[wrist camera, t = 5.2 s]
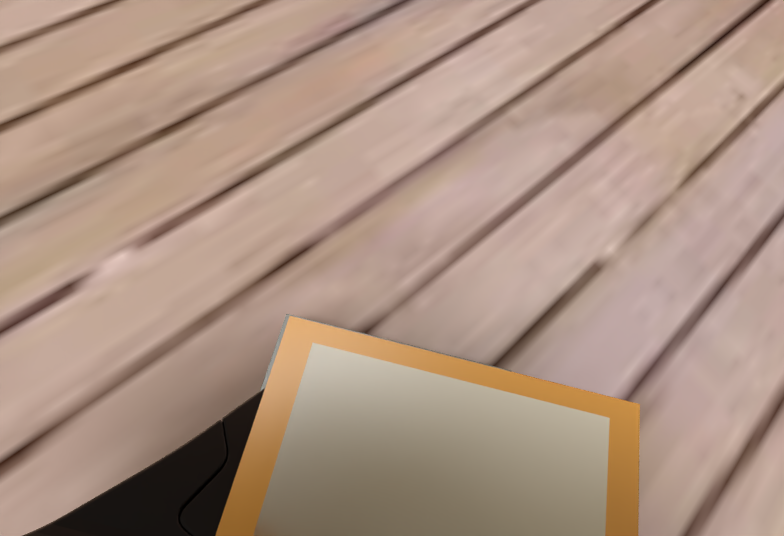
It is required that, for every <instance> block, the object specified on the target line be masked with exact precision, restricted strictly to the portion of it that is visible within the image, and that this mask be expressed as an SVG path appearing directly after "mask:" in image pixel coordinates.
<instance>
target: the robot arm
mask: <svg viewBox="0 0 784 536" xmlns="http://www.w3.org/2000/svg"><path fill="white" fill-rule="evenodd" d="M264 390H265V388H264V389H263V390H261V391H260V392H259V393H257V394H256V395H254V396H253V397H252V398H250V399H249V400H247V401H246V402H245V403H243V404H242V405H240V406H239V407H238V408H236V409H235V410H233V411H232V412H231V413H229V414H228V415H226V416H225V417H224V418H223V419H222V421H221V420H219V421H218V422H216V423H215V424H213V425H212V426H211V427H209V428H208V429H206V430H205V431H204V432H202V433H201V434H199V435H198V436H196V437H195V438H193V439H192V440H190V441H189V442H187V443H186V444H184V445H183V446H181V447H180V448H178V449H177V450H175V451H173V452H172V453H170V454H169V455H167V456H165V457H164V458H162V459H160V460H159V461H157V462H155V463H154V464H152V465H150V466H149V467H147V468H145V469H144V470H142V471H140V472H138V473H137V474H135V475H133V476H132V477H130V478H128V479H126V480H125V481H123V482H121V483H120V484H118V485H116V486H114V487H113V488H111V489H109V490H107V491H106V492H104V493H102V494H101V495H99V496H97V497H95V498H94V499H92V500H90V501H88V502H87V503H85V504H83V505H82V506H80V507H78V508H76V509H75V510H73V511H71V512H69V513H68V514H66V515H64V516H62V517H61V518H59V519H57V520H55V521H53V522H51V523H49V524H47V525H45V526H43V527H41V528H39V529H37V530H35V531H33V532H30V533H28V534H25V535H23V536H215V535H216V532H217V529H218V526H219V523H220V520H221V517H222V514H223V512H224V509H225V506H226V503H227V500H228V497H229V494H230V491H231V488H232V485H233V482H234V479H235V476H236V473H237V470H238V467H239V464H240V461H241V458H242V455H243V452H244V449H245V446H246V443H247V440H248V437H249V435H250V432H251V429H252V426H253V423H254V420H255V417H256V414H257V411H258V408H259V405H260V402H261V399H262V396H263V393H264Z"/></svg>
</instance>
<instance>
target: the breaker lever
mask: <svg viewBox="0 0 784 536" xmlns="http://www.w3.org/2000/svg"><path fill="white" fill-rule="evenodd" d="M639 421H640V404H637V403H633V402H629V401H625V400H621V399H617V398H613V397H609V396H605V395H601V394H597V393H593V392H589V391H585V390H581V389H578V388H574V387H570V386H566V385H562V384H558V383H554V382H550V381H546V380H542V379H538V378H534V377H530V376H526V375H522V374H518V373H514V372H510V371H506V370H503V369H499V368H495V367H491V366H487V365H483V364H479V363H475V362H471V361H467V360H463V359H459V358H455V357H451V356H447V355H443V354H439V353H435V352H431V351H427V350H424V349H420V348H416V347H412V346H408V345H404V344H400V343H396V342H392V341H388V340H384V339H380V338H376V337H372V336H368V335H364V334H360V333H356V332H352V331H348V330H345V329H341V328H337V327H333V326H329V325H325V324H321V323H317V322H313V321H309V320H305V319H301V318H297V317H293V316H289V319H288V322H287V325H286V328H285V331H284V334H283V337H282V340H281V343H280V346H279V349H278V352H277V355H276V358H275V360H274V363H273V366H272V369H271V372H270V375H269V378H268V381H267V384H266V387H265V390H264V393H263V396H262V399H261V402H260V405H259V408H258V411H257V414H256V417H255V420H254V423H253V426H252V429H251V432H250V435H249V437H248V440H247V443H246V446H245V449H244V452H243V455H242V458H241V461H240V464H239V467H238V470H237V473H236V476H235V479H234V482H233V485H232V488H231V491H230V494H229V497H228V500H227V503H226V506H225V509H224V512H223V514H222V517H221V520H220V523H219V526H218V529H217V532H216V535H215V536H638V504H639Z"/></svg>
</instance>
